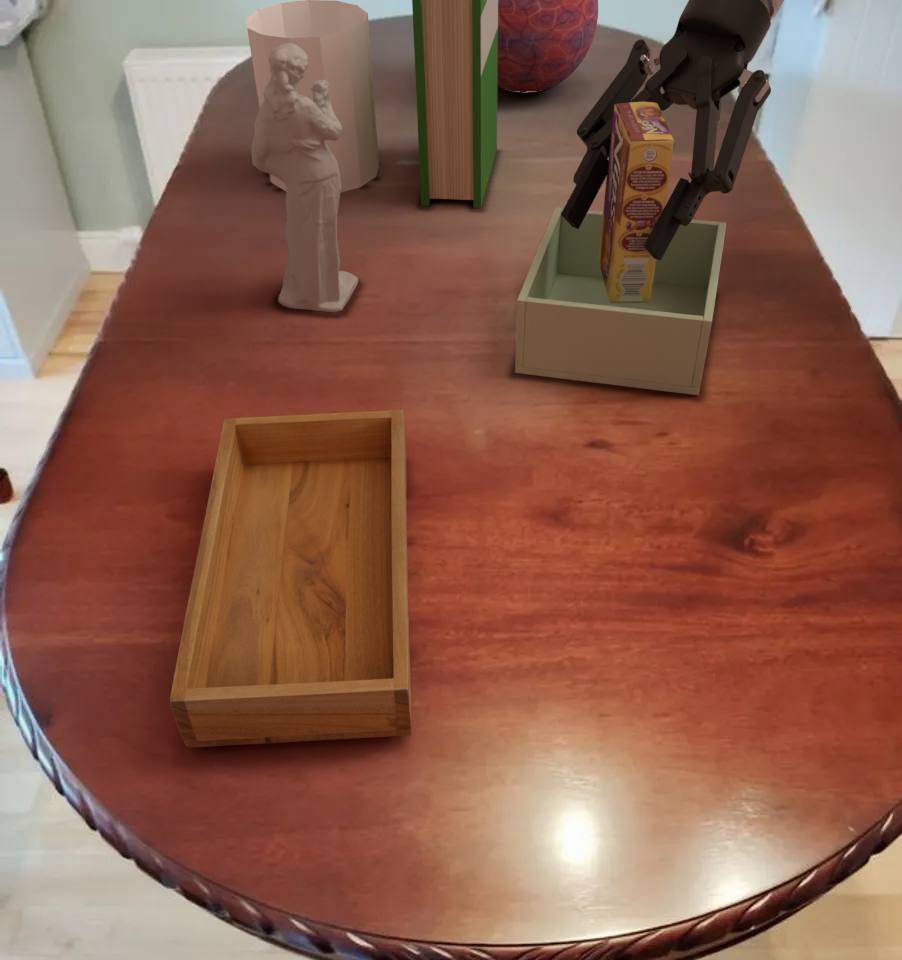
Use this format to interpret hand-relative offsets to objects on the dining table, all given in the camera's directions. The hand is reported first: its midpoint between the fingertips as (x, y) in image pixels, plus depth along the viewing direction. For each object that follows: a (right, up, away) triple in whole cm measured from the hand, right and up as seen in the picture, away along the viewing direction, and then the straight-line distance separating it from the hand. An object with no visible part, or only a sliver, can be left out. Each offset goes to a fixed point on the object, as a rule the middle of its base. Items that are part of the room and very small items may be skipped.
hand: (610, 237), depth 92 cm
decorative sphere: (-4, +43, +58) cm, 72 cm away
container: (-31, +22, +39) cm, 55 cm away
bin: (+2, -6, +10) cm, 12 cm away
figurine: (-29, 0, +17) cm, 34 cm away
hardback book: (-13, +21, +37) cm, 44 cm away
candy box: (+2, -2, +6) cm, 7 cm away
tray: (-25, -33, -15) cm, 44 cm away
